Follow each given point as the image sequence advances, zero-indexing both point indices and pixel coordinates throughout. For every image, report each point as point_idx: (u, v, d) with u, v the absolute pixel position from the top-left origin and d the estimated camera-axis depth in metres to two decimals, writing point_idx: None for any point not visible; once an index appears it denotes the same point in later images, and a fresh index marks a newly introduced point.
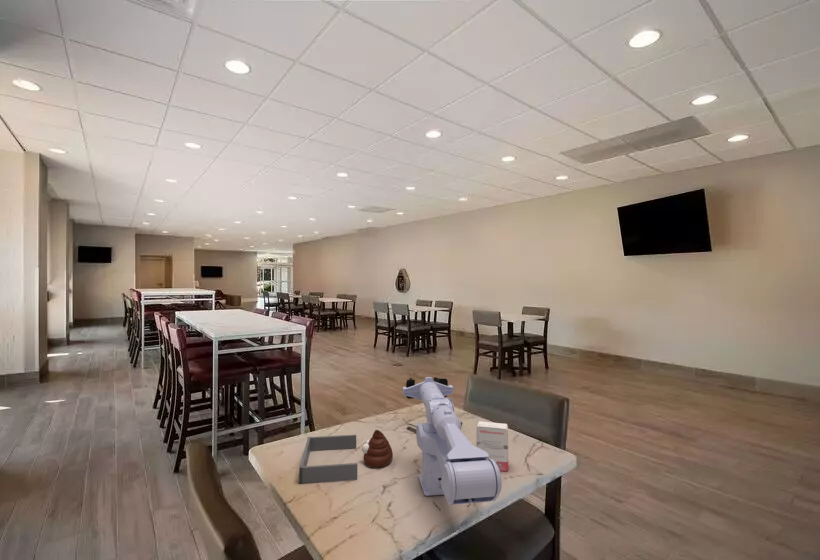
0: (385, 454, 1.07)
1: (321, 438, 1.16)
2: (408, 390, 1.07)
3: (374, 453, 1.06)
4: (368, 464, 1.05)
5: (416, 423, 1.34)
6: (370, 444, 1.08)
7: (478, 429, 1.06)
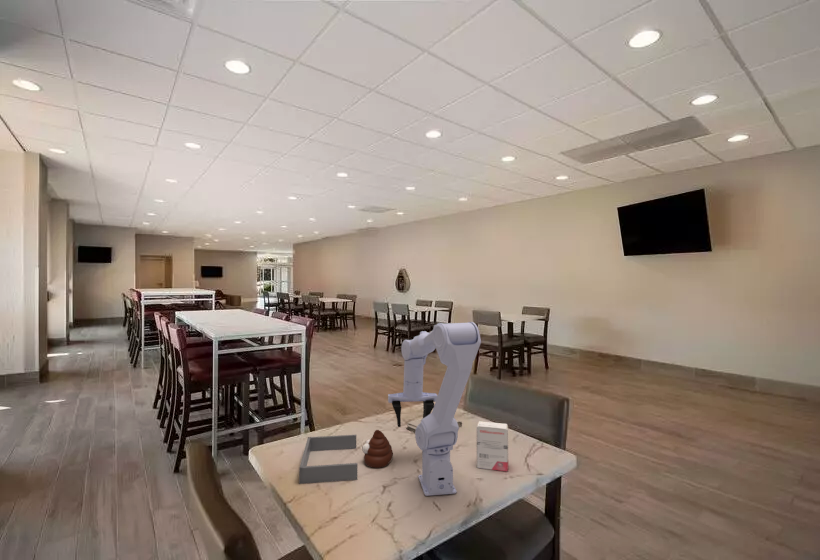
0: (385, 454, 1.07)
1: (321, 438, 1.16)
2: None
3: (374, 453, 1.06)
4: (368, 464, 1.05)
5: (416, 423, 1.34)
6: (370, 444, 1.08)
7: (478, 429, 1.06)
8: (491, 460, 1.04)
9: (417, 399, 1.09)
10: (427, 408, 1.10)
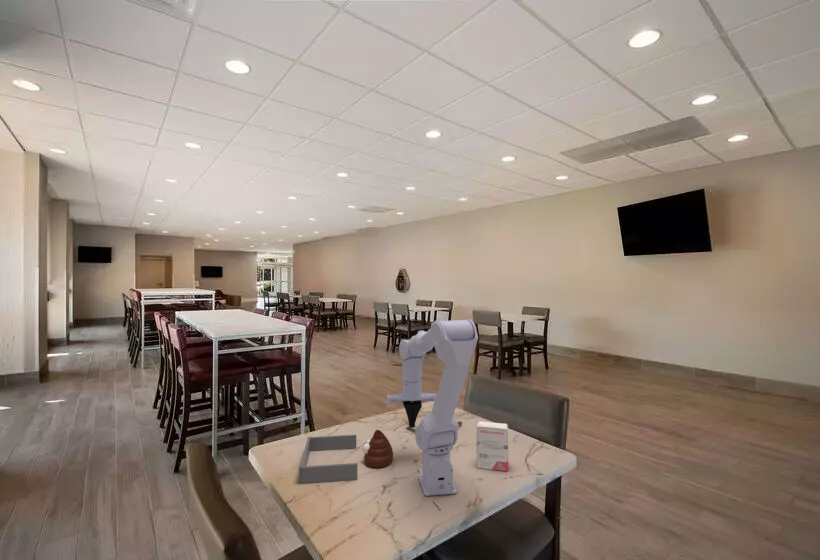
0: (386, 454, 1.07)
1: (321, 438, 1.16)
2: None
3: (375, 453, 1.06)
4: (369, 464, 1.05)
5: (416, 423, 1.34)
6: (371, 444, 1.08)
7: (478, 429, 1.06)
8: (491, 460, 1.04)
9: (416, 399, 1.09)
10: (415, 408, 1.09)
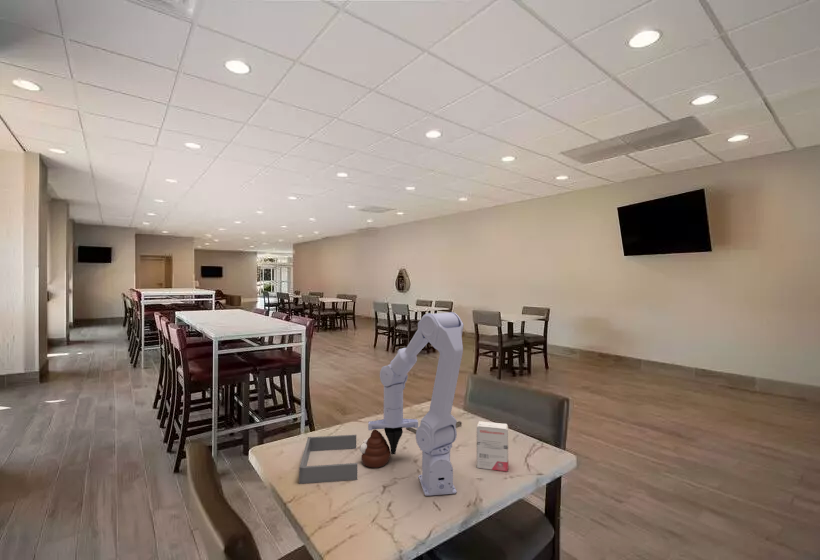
0: (383, 454, 1.07)
1: (321, 438, 1.16)
2: None
3: (372, 453, 1.06)
4: (366, 464, 1.05)
5: None
6: (368, 444, 1.08)
7: (478, 429, 1.06)
8: (492, 460, 1.04)
9: (397, 426, 1.08)
10: (395, 435, 1.08)
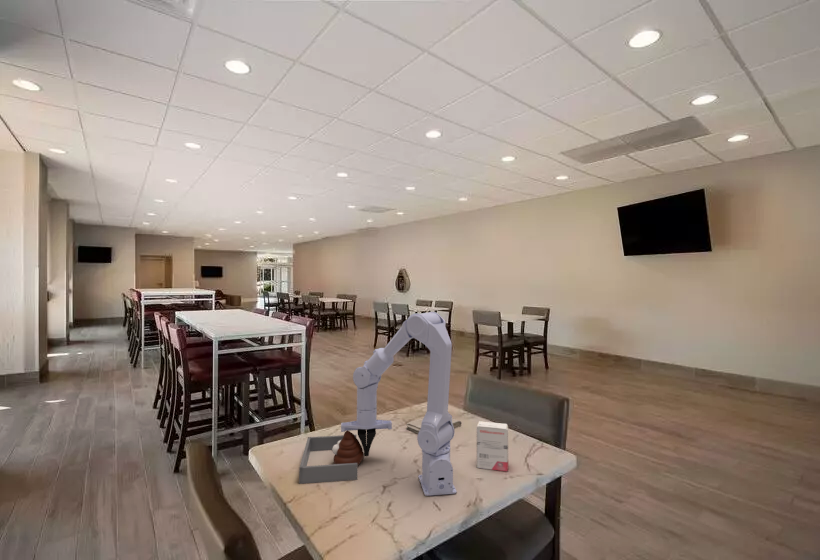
0: (354, 455, 1.06)
1: (321, 438, 1.16)
2: None
3: (343, 454, 1.05)
4: None
5: (415, 423, 1.34)
6: (340, 445, 1.07)
7: (478, 429, 1.06)
8: (492, 460, 1.04)
9: (370, 427, 1.07)
10: (368, 437, 1.07)
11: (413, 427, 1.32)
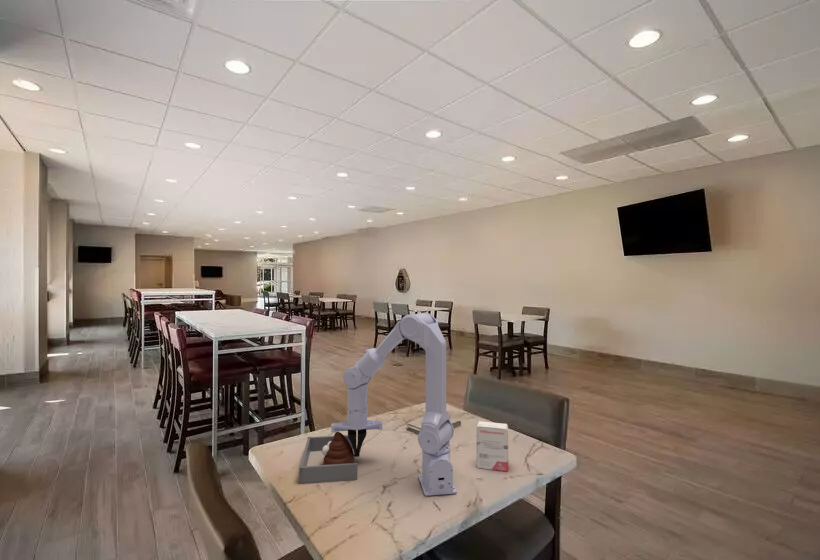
0: (344, 456, 1.05)
1: (321, 438, 1.16)
2: None
3: (333, 455, 1.04)
4: None
5: (416, 423, 1.33)
6: (330, 446, 1.06)
7: (478, 429, 1.06)
8: (492, 460, 1.04)
9: (360, 428, 1.06)
10: (359, 437, 1.07)
11: (413, 427, 1.31)
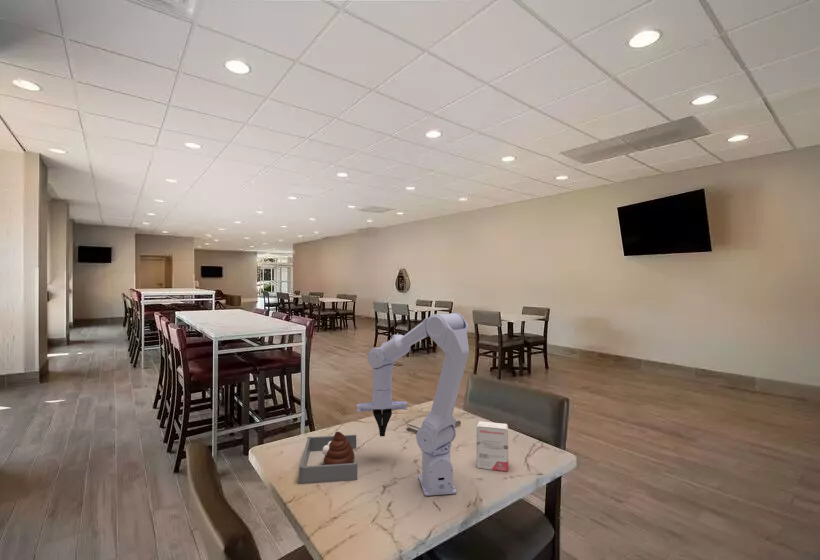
0: (344, 456, 1.05)
1: (321, 438, 1.16)
2: None
3: (333, 455, 1.05)
4: None
5: (416, 424, 1.33)
6: (330, 446, 1.06)
7: (478, 429, 1.06)
8: (492, 460, 1.04)
9: (386, 407, 1.07)
10: (384, 417, 1.08)
11: (414, 428, 1.31)
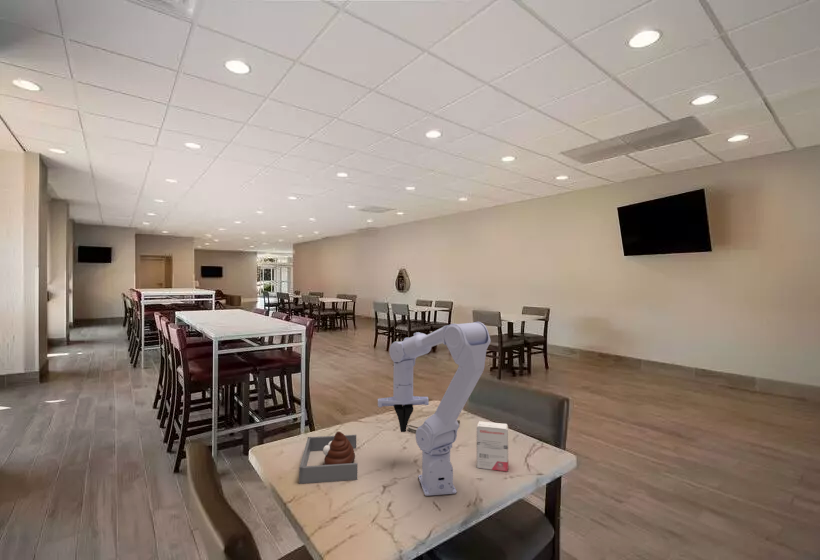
0: (345, 456, 1.05)
1: (321, 438, 1.16)
2: None
3: (333, 455, 1.05)
4: None
5: (417, 424, 1.33)
6: (331, 446, 1.07)
7: (478, 429, 1.06)
8: (492, 460, 1.04)
9: (407, 402, 1.05)
10: (406, 412, 1.06)
11: (415, 428, 1.31)
